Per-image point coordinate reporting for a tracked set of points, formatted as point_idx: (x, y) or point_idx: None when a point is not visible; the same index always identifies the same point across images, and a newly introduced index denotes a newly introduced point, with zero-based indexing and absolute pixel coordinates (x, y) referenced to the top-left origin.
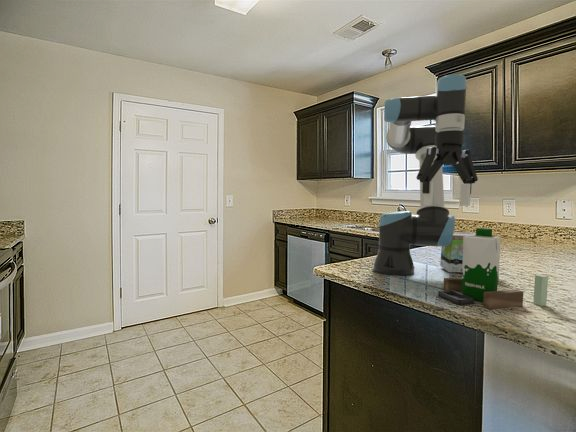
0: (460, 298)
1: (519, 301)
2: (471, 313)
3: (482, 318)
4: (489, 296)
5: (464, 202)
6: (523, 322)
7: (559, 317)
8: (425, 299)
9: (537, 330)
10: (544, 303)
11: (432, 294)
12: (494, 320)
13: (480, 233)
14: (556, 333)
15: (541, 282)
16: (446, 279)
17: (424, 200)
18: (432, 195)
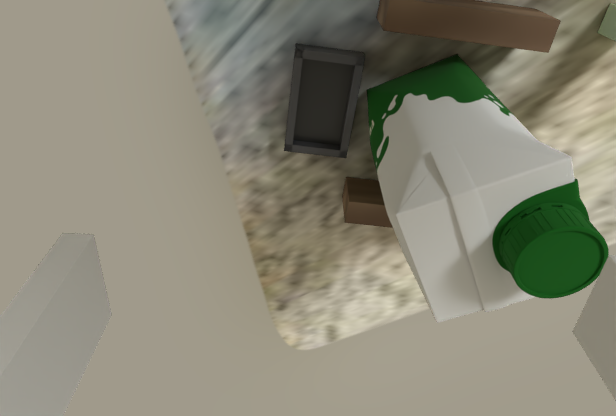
0: (332, 113)
1: None
2: (261, 200)
3: (258, 232)
4: (345, 215)
5: (603, 328)
6: (330, 275)
7: None
8: (219, 55)
9: (311, 307)
10: None
11: (294, 12)
12: (275, 248)
13: (504, 254)
14: (332, 324)
15: None
16: (385, 17)
17: (40, 279)
18: (63, 403)
